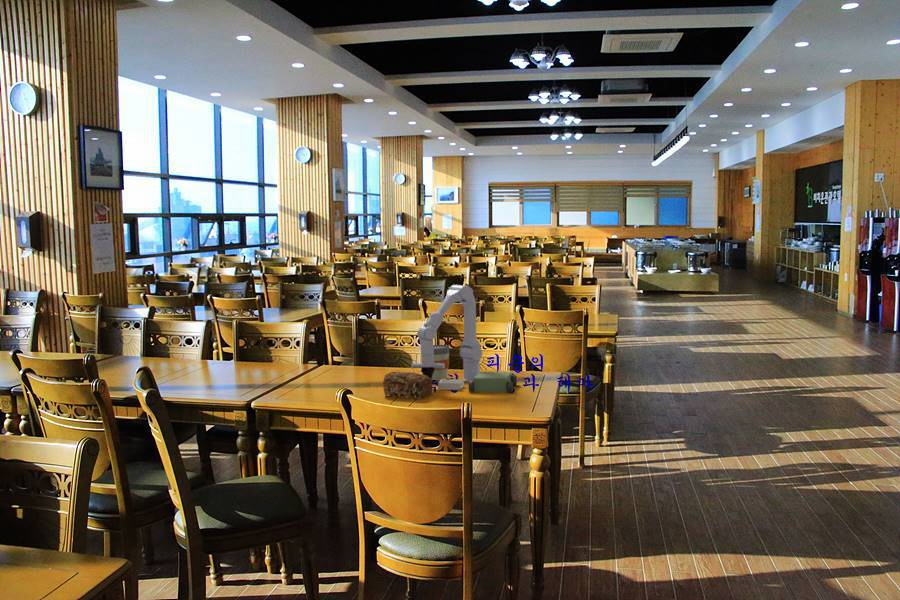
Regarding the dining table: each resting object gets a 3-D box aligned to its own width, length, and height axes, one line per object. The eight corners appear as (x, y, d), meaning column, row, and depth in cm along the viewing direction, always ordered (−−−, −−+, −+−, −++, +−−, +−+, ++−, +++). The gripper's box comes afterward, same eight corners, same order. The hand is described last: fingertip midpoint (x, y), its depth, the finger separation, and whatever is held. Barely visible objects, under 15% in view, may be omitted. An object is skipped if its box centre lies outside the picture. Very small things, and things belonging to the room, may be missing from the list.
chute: (442, 386, 337) (441, 379, 336) (464, 386, 334) (464, 379, 334) (438, 389, 330) (437, 382, 329) (460, 389, 328) (460, 382, 327)
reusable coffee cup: (452, 375, 361) (450, 344, 359) (449, 381, 348) (448, 348, 347) (425, 376, 362) (424, 344, 360) (422, 381, 349) (420, 349, 348)
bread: (382, 396, 322) (381, 373, 321) (397, 391, 331) (396, 368, 330) (420, 400, 312) (419, 376, 311) (434, 394, 321) (433, 371, 320)
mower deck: (476, 384, 338) (476, 371, 338) (517, 384, 334) (516, 371, 334) (468, 393, 321) (468, 379, 321) (511, 393, 317) (510, 379, 317)
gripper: (408, 355, 331) (410, 386, 332) (441, 355, 327) (442, 386, 329) (413, 352, 338) (414, 383, 339) (445, 352, 334) (446, 383, 336)
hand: (428, 384), depth 334 cm, fingers closed
